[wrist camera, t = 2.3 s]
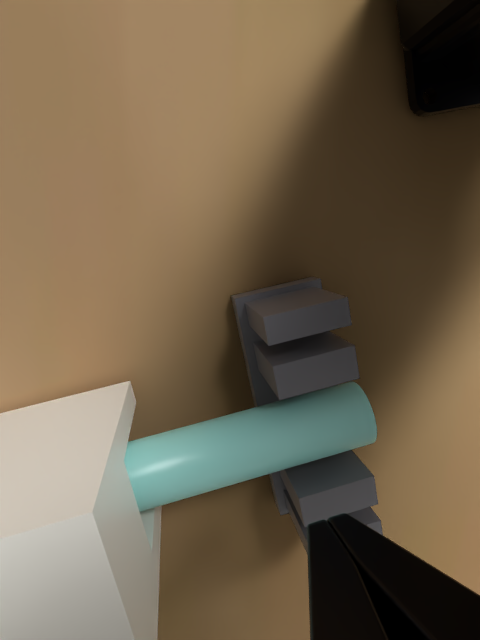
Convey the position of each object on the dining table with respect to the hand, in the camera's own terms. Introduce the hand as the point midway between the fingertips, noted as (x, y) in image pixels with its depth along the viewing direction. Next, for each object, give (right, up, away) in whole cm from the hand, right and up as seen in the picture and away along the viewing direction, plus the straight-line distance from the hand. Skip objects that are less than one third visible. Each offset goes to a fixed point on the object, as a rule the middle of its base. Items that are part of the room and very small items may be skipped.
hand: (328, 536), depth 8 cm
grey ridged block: (0, +2, +7) cm, 7 cm away
